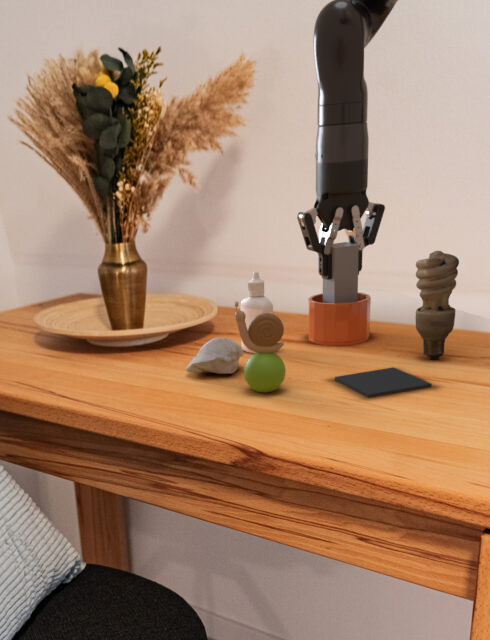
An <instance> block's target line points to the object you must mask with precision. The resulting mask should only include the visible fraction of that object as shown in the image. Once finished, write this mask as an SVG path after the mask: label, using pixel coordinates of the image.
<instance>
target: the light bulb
mask: <svg viewBox="0 0 490 640" xmlns="http://www.w3.org/2000/svg"><path fill="white" fill-rule="evenodd" d="M459 265H460V260H459V258H458V257H457V256H456V255H453V254H450V253H446V252H443V251H442V250H434V251H433V252H430V253H429V255H428V258H423V259H419V260H417V261H416V262H415V267H416V272H415V277H416V278H417V279H418V280H417V282H416V285H415V286H416V288H417V289H418V290H419V291H420V292H419V297H420V299H421V300H422V306H420V307H417V308H416V310H415V329H416V331H417V333H418V335H420V337H421V339H422V345H423V347H422V348H423V352H422V354H423V355H424V356H427V357H428V359H429V360H430V361H437V360H440V357H443V356H444V354H445V342H446V339H447V338H448V336H449V335H450V333H452V331H453V330H454V326H455V320H456V308H455V307H452V306H451V305H450V301H449V300H450V297H451V295H452V293H453V290H454V289H456V287H457V280H456V278H457V277H458V274H459V271H458V267H459Z"/></svg>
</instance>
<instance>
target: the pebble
mask: <svg viewBox="0 0 490 640" xmlns="http://www.w3.org/2000/svg"><path fill="white" fill-rule="evenodd" d="M241 357H244V350H243V349H242V347H241V345H240V344H238V342H236V341H235V340H233V339H232V338H228V337H220V336H219V337H215V338H212V339H210V340H209V341H207V342H205V343H204V344H203V345H202V346H201V347H200V348H199V350H198V353H197V354H195V355H194V357H193V358H192V359H191V361H190V362H189V364H187V366H186V368H185V369H186V372H187V373H215V374H221V375H222V374H224V375H225V374H230V375H231V374H234V373H235V372H236V371H237V370H238V368H239V366H240V365H239V360H240V358H241Z"/></svg>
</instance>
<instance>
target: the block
mask: <svg viewBox="0 0 490 640" xmlns="http://www.w3.org/2000/svg"><path fill="white" fill-rule="evenodd" d="M330 254H331V255H332V278H331V279H329V280H326V279H323V278H322V293H323V303H350V302H357V301H358V293H359V275H358V254H359V245H357V244H353V243H349V241H348V242H347V241H344V242H336V243H335V242H334V243H333V247H332V251H331V253H330Z"/></svg>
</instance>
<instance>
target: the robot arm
mask: <svg viewBox="0 0 490 640" xmlns="http://www.w3.org/2000/svg"><path fill="white" fill-rule="evenodd" d="M398 1H399V0H331V1H329V2H328V3H326V4H325V5H324V6H323V7H322V9H321V10H320V11H319V13H318V15H317V17H316V18H315V19H316V20H315V23H314V29H313V55H314V56H313V57H314V66H315V73H316V80H317V81H316V82H317V90H318V91H317V92H318V93H317V131H316V139H315V153H314V157H315V195H316V199H315V201H314V204H313V207H312V208H309V210H306V211H304V212H303V211H300V212H298V213H297V214H296V219H297V222H298V225H299V229H300V231H301V234H302V238H303V241H304V244H305V248H306V249H307V250H308V251H311V252H315V253H317V255H318V275H319V276H321V279H322V280H323V279H326V280H329V279H331V278H332V255H331V254H330V253H331V251H332V247H333V244H334V243H335V240H336V239H337V237H338V232H340V231H342V230H344V233H345V235H346V236H347V239H348V243H353V244H357V245H359V254H358V276H359V275H360V272H362V269H363V252H364V249H365V248H367V247H368V246H369V245H370V246H372V245H374V244H375V243H376V240H377V236H378V233H379V229H380V226H381V224H382V220H383V217H384V213H385V211H386V206H385V204H383V203H378V202H371V201H370V200H369V197H368V196H367V195H368V194H367V189H368V185H369V183H368V182H369V144H370V143H369V140H370V139H369V129H368V111H369V110H368V108H369V107H368V103H369V102H368V101H369V93H368V92H369V91H368V84H367V82H366V81H367V80H366V79H365V49H366V48H367V46H368V45H369V44H370V42H371V41H372V40H373V39H374V38H375V36H376V35H377V33H378V32H379V31H380V29H381V27H382V26H383V25H384V23H385V21H386V20H387V19H388V17H389V15H390V14H391V13H392V10H393V9H394V7H395V6H396V4H397V3H398ZM364 214H365V215H366V218H365V222H364V224H363V225H362V218H363V216H364ZM316 218H318V220H319V221H320V223H321V225H320V228H319V232H318V233H317V230H316V227H315V224H316V222H317V219H316Z"/></svg>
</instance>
